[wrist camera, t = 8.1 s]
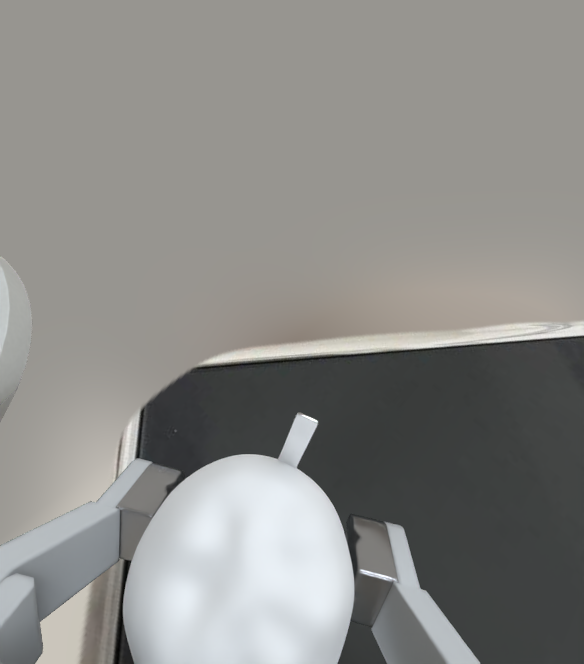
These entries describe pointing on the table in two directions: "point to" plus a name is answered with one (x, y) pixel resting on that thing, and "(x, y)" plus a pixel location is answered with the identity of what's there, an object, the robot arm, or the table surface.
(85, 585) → the robot arm
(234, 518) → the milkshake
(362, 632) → the table surface
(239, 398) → the table surface
